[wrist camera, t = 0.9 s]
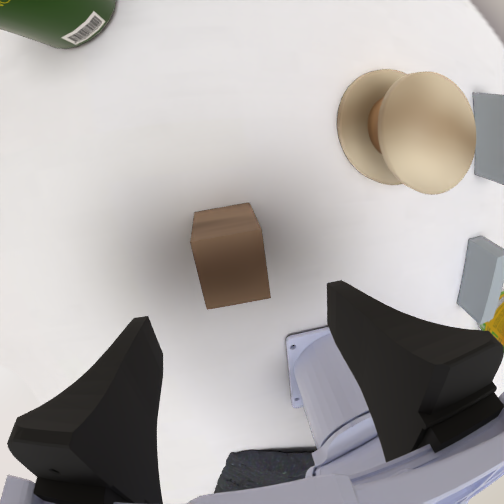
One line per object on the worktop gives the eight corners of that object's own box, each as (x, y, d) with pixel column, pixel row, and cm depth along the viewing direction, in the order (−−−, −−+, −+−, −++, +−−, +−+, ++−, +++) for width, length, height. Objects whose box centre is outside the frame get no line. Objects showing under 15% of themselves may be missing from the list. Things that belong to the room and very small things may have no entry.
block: (257, 258, 22) (270, 297, 17) (206, 267, 21) (206, 309, 17) (249, 202, 20) (261, 229, 15) (194, 212, 20) (190, 241, 15)
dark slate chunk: (344, 437, 34) (356, 466, 30) (294, 499, 42) (300, 520, 38) (226, 444, 31) (230, 478, 27) (208, 503, 39) (210, 526, 35)
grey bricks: (469, 298, 27) (492, 318, 23) (456, 303, 26) (480, 324, 23) (486, 95, 18) (520, 98, 15) (472, 92, 18) (507, 95, 14)
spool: (433, 177, 21) (479, 196, 16) (342, 188, 20) (379, 211, 16) (428, 74, 17) (476, 72, 13) (330, 69, 17) (368, 57, 12)
